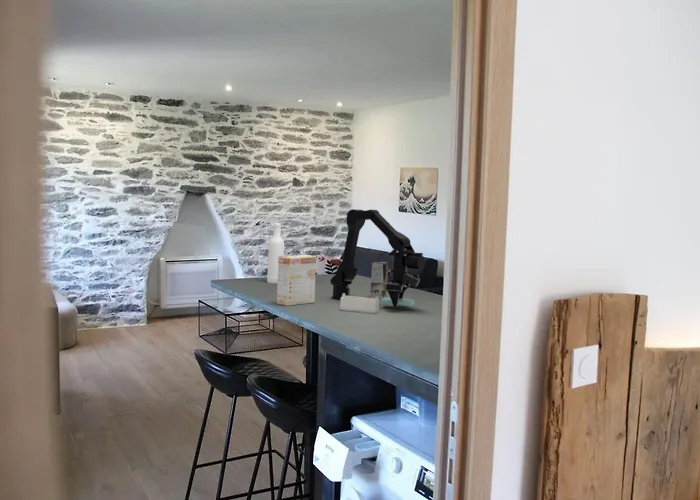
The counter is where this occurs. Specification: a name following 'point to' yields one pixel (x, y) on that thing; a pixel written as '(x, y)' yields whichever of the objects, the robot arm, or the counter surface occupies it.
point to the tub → (359, 304)
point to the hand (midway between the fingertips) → (397, 305)
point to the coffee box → (379, 280)
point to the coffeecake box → (296, 279)
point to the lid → (400, 301)
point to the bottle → (274, 254)
